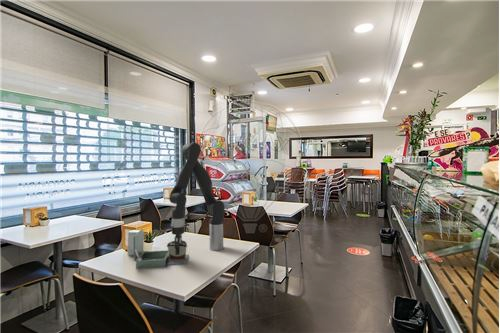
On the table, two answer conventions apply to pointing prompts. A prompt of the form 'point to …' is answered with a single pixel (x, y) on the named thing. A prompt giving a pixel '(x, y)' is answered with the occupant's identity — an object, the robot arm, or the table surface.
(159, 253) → the case
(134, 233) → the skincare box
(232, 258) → the table surface
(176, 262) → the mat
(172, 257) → the food container
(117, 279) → the table surface
